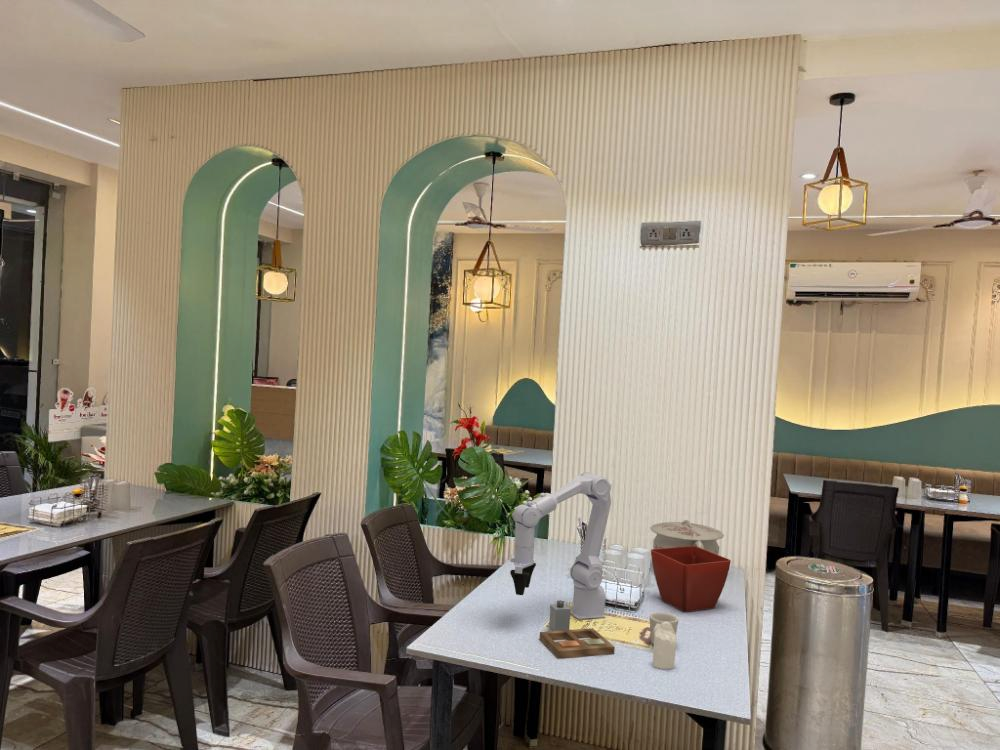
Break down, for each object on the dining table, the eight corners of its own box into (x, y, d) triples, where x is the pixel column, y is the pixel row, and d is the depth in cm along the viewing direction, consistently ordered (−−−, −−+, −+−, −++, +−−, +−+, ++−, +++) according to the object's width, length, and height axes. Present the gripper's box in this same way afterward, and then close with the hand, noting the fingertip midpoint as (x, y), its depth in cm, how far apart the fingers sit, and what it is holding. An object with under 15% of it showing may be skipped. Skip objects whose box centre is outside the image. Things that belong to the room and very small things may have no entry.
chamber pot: (665, 559, 304) (667, 509, 304) (731, 574, 288) (734, 520, 288) (635, 574, 281) (638, 519, 281) (705, 590, 265) (708, 532, 265)
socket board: (592, 635, 217) (593, 626, 217) (614, 653, 203) (614, 644, 203) (539, 639, 212) (539, 630, 211) (558, 658, 198) (558, 649, 198)
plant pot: (682, 617, 236) (685, 564, 236) (646, 598, 253) (649, 548, 253) (729, 611, 244) (732, 560, 243) (692, 593, 261) (694, 545, 261)
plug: (563, 627, 222) (564, 598, 222) (569, 632, 218) (570, 603, 218) (549, 627, 221) (550, 599, 221) (554, 633, 216) (556, 604, 216)
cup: (667, 656, 204) (669, 627, 204) (640, 648, 208) (641, 620, 208) (680, 644, 213) (682, 616, 213) (653, 637, 217) (655, 610, 217)
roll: (669, 615, 201) (682, 623, 196) (666, 659, 201) (679, 668, 196) (650, 617, 198) (663, 625, 193) (648, 662, 199) (660, 671, 193)
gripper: (516, 538, 231) (514, 582, 231) (505, 550, 216) (503, 596, 217) (539, 541, 229) (537, 584, 229) (529, 552, 215) (527, 599, 215)
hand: (522, 590), depth 223 cm, fingers open, 7 cm apart
